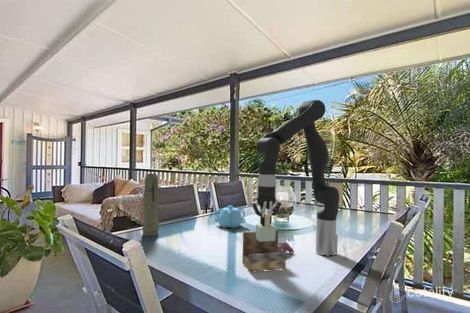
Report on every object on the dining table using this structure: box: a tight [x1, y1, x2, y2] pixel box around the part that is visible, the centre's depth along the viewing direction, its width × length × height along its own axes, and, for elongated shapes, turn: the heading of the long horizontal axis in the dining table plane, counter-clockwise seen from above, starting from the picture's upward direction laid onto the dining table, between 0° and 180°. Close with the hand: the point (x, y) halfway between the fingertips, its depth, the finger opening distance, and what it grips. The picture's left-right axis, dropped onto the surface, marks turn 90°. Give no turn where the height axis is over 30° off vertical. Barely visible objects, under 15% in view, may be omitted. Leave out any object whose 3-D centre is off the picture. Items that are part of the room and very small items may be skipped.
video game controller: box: [278, 241, 294, 254], centre depth 146 cm, size 10×5×7 cm, turn 141°
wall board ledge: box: [241, 229, 287, 273], centre depth 130 cm, size 16×10×14 cm, turn 105°
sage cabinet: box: [255, 212, 277, 242], centre depth 129 cm, size 7×5×11 cm
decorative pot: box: [214, 205, 246, 229], centre depth 198 cm, size 16×16×14 cm
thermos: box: [142, 173, 160, 238], centre depth 174 cm, size 9×12×35 cm
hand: (265, 225), depth 129 cm, fingers closed on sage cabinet
